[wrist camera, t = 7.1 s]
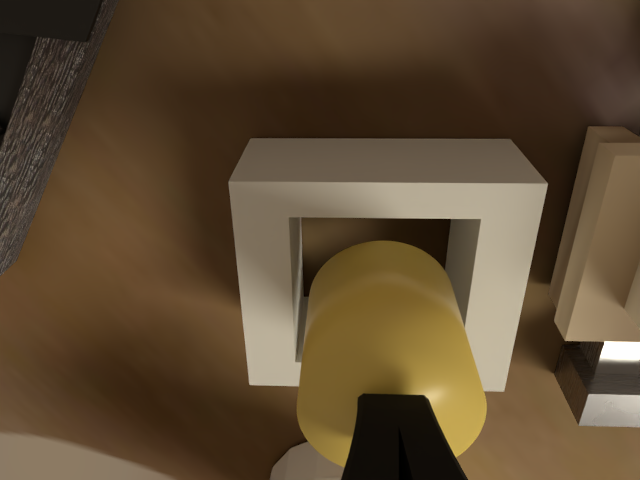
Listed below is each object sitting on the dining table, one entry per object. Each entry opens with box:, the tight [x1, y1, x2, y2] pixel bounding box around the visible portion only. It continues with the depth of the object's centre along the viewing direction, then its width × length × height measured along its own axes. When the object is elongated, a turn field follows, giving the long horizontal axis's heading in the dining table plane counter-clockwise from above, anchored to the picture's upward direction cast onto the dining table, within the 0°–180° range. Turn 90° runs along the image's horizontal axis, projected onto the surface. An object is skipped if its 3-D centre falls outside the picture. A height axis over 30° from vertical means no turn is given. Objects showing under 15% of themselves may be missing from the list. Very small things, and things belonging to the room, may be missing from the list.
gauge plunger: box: [297, 241, 487, 468], centre depth 13 cm, size 4×4×4 cm
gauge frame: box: [228, 138, 548, 392], centre depth 17 cm, size 8×7×4 cm
